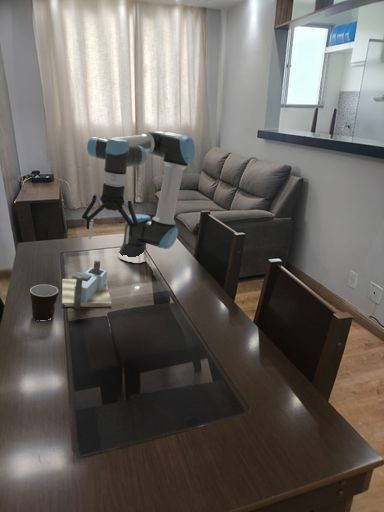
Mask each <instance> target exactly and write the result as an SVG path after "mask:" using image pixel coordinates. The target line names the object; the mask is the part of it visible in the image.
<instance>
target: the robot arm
mask: <svg viewBox="0 0 384 512" xmlns="http://www.w3.org/2000/svg"><path fill="white" fill-rule="evenodd" d="M86 146H87V147H86V149H87V151H86V152H87V154H88V155H89V156H90V157H93V158H96V159H99V160H104V161H105V162H104V170H103V171H104V173H103V184H102V194H101V195H98V194H96V193H95V194H93V195H92V199H91V201H90V203H89V205H88V206H87V208H86V210H85V211H84V212H83V214H82V216H81V219H83V220H85V221H86V227H85V228H86V230H88V239H90V240H91V239H92V237H93V230H94V229H93V228H94V218H95V217H96V216H97V215H98V214H99V213H101V212H102V211H103V210H104V209H106V210H108V211H110V210H111V211H114V212H116V211H118V213H120V215H121V216H122V218H123V219H124V220H125V223H124V224H125V227H124V234H123V242H122V244H121V247H120V249H119V250H120V251H118V253H120V254H121V255H122V256H123V255H127V256H128V257H136V256H139V255H140V254H142V253H143V252H144V250H145V249H147V245H150V246H153V247H157V248H159V249H164V250H168V249H170V248H172V247H173V245H175V242H176V240H177V238H178V235H179V229H178V228H177V227H176V222H175V220H174V217H175V212H176V208H177V202H178V197H179V193H180V188H181V184H182V179H183V178H182V177H183V173H184V170H185V169H187V168H188V165H189V164H191V163H193V161H194V159H195V154H196V152H195V151H196V145H195V141H194V139H193V138H192V137H191V136H187V135H185V134H181V133H180V134H179V133H174V132H168V131H165V130H154V131H153V130H152V131H145V132H144V131H143V132H141V133H139V134H138V135H137V134H136V135H129V136H127V135H126V136H118V137H109V138H106V137H105V138H101V137H99V136H98V137H96V136H92V137H90V139H89V140H88V141H87V144H86ZM148 155H153V156H157V157H161V158H163V160H162V162H163V164H164V166H165V167H164V173H163V178H162V182H161V189H160V193H159V197H158V203H157V207H156V208H157V209H156V214H155V216H153V217H152V218H151V216H150V215H147V214H140V213H138V214H137V213H135V210H134V207H133V200H132V199H125V198H124V197H125V185H126V179H127V177H126V176H127V168H128V167H135V168H136V167H139V166H142V165H144V164H145V163H146V160H147V156H148ZM99 200H100V201H101V203H102V204H101V205H100V206H99V207H97V209H95V210H94V211H93V212H92V213H91V214H90V211H91V210H92V208H93V207H94V205H96V203H97V202H99ZM124 204H125V205H126V206H125V207H127V208H128V211H129V214H127V212H126V211H125V209H124V207H123V205H124ZM88 214H90V215H88Z"/></svg>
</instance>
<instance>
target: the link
mask: <svg viewBox="0 0 384 512" xmlns="http://www.w3.org/2000/svg"><path fill="white" fill-rule="evenodd" d="M93 269H94V266H93V267H92V266H91V267H89V268H88V269H87V270H86V271H85V272H84V273H85V274H89V275H92V276H91V278H90V279H89V280H88V281H82V290H81V301H80V302H83V303H86V302H87V301H88V300H89V298H90V297H91V296H92V295H93V294H94V293H95V292H96V290H101V289H102V288H103V286H104V285H105V284H106V282H107V277H108V270H106V269H101V268H100V271H99V275H96V274H93ZM75 291H76V285H75ZM75 291H74V301H75Z"/></svg>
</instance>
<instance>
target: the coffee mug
mask: <svg viewBox="0 0 384 512" xmlns="http://www.w3.org/2000/svg"><path fill="white" fill-rule="evenodd" d="M29 294H30V302H31V303H30V304H31V315H32V319H33V318H34V319H35V320H34V319H33V320H34V321H36V320H39V321H40V320H48V319H50V318H52V317H53V318H54V315H55V314H54V313H55V310H56V305H57V300H58V295H59V289H58V287H56V286H54V285H51V284H45V283H44V284H37V285H34V286H32V287H31V288H30V289H29ZM53 318H52V319H53ZM39 321H38V322H39Z"/></svg>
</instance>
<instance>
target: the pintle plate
mask: <svg viewBox="0 0 384 512" xmlns="http://www.w3.org/2000/svg"><path fill="white" fill-rule="evenodd" d="M93 268H94V269H93V274H96V275H99V271H100V269H101V260H98V259H95V260H94V261H93ZM91 276H92V275H89V274H85V272H84V273H83V272H80V271H76V272H75V273H74V274H73V275H72V276H71V278H62V281H61V285H62V286H61V287H62V288H61V305H62V304H64V305H65V306H64V307H73V308H74V309H75V310H78V309H80V308H81V307H87V308H88V307H89V308H90V307H93V308H94V307H98V308H99V307H102V308H103V307H104V308H105V307H106V308H108V307H109V308H110V307H112V304H113V303H112V299H111V295H110V292H109V285H108V283H107V281H106V284H105V285H104V286H103V288H102V289H101V290H96V292H95V293H94V294H93V295H92V296H91V297H90V298H89V300H88V301H87V302H86V303H83V302H80V301H81V290H82V281H88V280H89V279H90V278H91ZM75 285H76V291H75ZM74 291H75V301H74Z"/></svg>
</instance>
